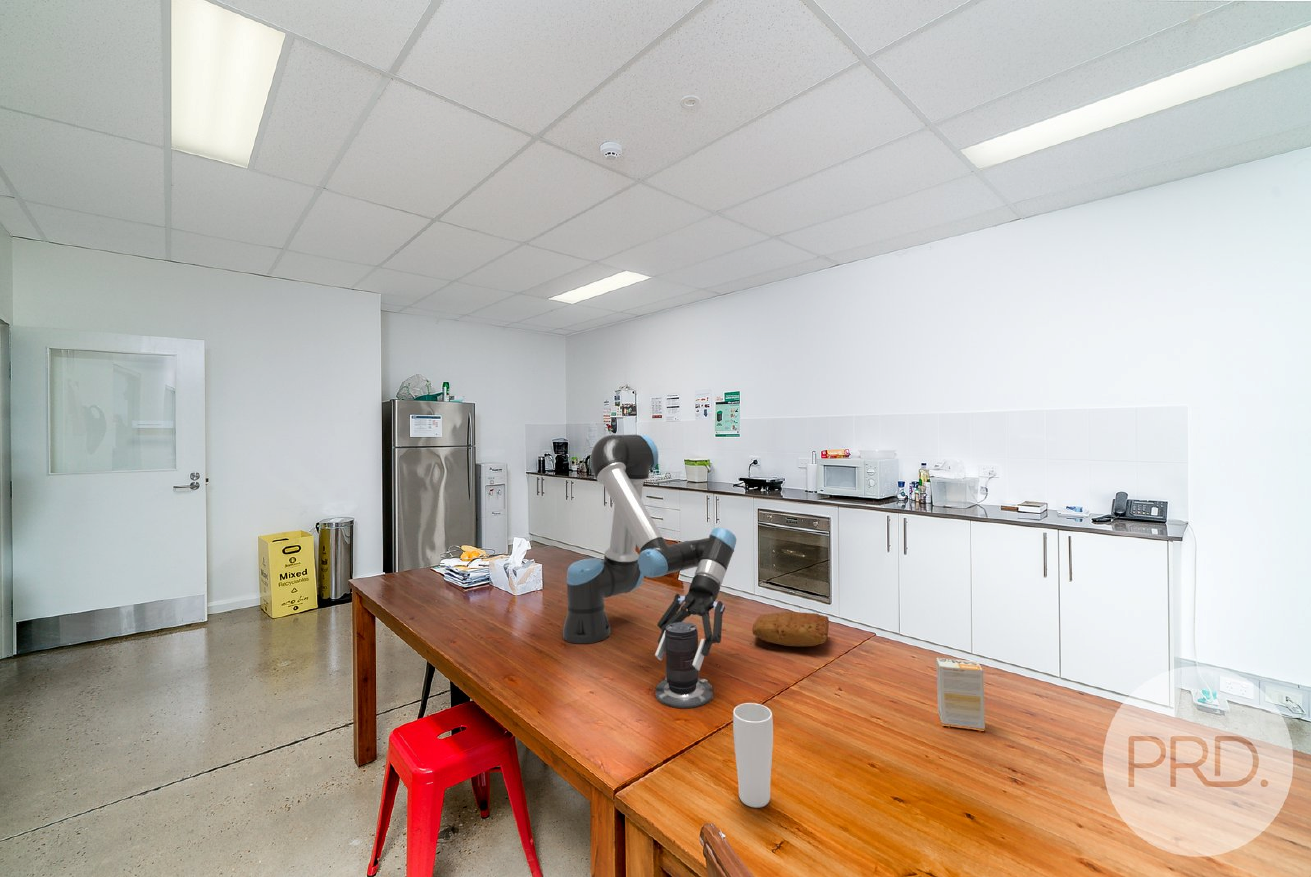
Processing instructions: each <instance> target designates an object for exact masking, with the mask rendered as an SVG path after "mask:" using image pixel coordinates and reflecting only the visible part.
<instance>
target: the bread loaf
mask: <svg viewBox="0 0 1311 877" xmlns="http://www.w3.org/2000/svg"><path fill="white" fill-rule="evenodd" d="M829 623H830V619H829V616H826V615H824V614H822V615H821V614H819V613H814V612H813V613H812V612H811V613H810V612H802V611H801V612H799V611H798V612H796V611H795V612H793V611H781V612H774V613H768V614H761V615H760V616H758V617H757V618H756V619H755V621H754V623H753V626H752V630H751V631H752V635H753V636H755V637H757V638H759V639H760V640H762V641H765V642H767V643H770V644H771V643H772V644H776V645H781V646H785V647H786V646H787V647H813V646H814V647H815V646H817V645H821V644H825V643H826V641H827V639H828V636H829V626H830V624H829Z"/></svg>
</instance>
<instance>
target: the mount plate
mask: <svg viewBox="0 0 1311 877" xmlns="http://www.w3.org/2000/svg"><path fill="white" fill-rule="evenodd" d="M654 691H655V698H656V700H657V699H658V700H657V701H658V702H659V701H660V702H659V703H661V704H663V705H664V704H665V705H664V706H666V707H670V708H674V707H675V708H676V709H695V708H699V707H701V706H705V705H707V704H708V703H709V702H710V701H712V699H713V696H714V689H713V686H712V684H710V682H708V679H705V678H700V677H698V682H697V684H696V689H695V691H694V692H692V693H689V694H676V693H673V692H672V691H670V690H669V684H668V683H667V677H665V678H664V680H661V681H660V682H659V683H657V685H656V687H655V690H654ZM704 704H705V705H704Z"/></svg>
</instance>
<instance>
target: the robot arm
mask: <svg viewBox="0 0 1311 877" xmlns="http://www.w3.org/2000/svg"><path fill="white" fill-rule="evenodd" d="M658 462H659V449H658V447H657V445H656V444H655V441H654V440H653V439H652V438H651V437H650V436H648V435H645V434H617V435H616V434H612V435H606V436H603V437H602V438H601V439H599V440H598V441H597V442H596V443H595V445H594V446H593V448H592V451H591V454H590V466H591V470H592V473H593V475H594V478H595V479H596V481H597V482H598V483H599V484H600V485H601V484H602V485H603V487H604V488H605V490H606V492H607V494H608V495H609V497H610V499H611V501H612V503H613V505H614V507H613V517H612V525H611V533H610V544H609V548H608V549H606V550H605V551H604V556H603V560H602V559H601V558H597V557H593V558H592V557H591V558H584V559H580V560H577V561H574V562H572V563H571V564H570V565H569V566H568V568H567V571H566V572H567V573H566V575H567V576H566V584H567V589H566V590H567V591H566V592H567V596H566V597H567V613H566V614H567V615H566V618H565V621H564V624H563V628H562V638H563V640H564V641H566V642H569V643H572V644H593V643H598V642H601V640H602V641H604V640H606V639H607V637H608V636H609V637H610V636H611V625H610V622H609V619H608V616H607V614H606V610H605V599H606V598H610V597H614V596H617V595H622V594H628V593H630V592H632V591H635V590H637V589H638V588H639V587H640V586H641V585H642V583H643V581H644V579H645V578H644V577H646V578H650V579H651V578H660V577H663V576H665V575H669V574H673V573H677V572H681V571H685V570H689V569H693V568H696V569H695V572H694V576H693V578H692V579H691V580H692V581H691V582H690V586H689V587H688V592H687V594H686V595H680V594H679V593H676V594H675V596H674V598H673V601H672V602H671V604H670V605H669V607H668V608H667V610H665V612H664V614H663V615H662V617H661V618H660V619H659V621H658V622H657V627H658V628H659V629H660V630H661V632H660V635H659V638H658V640H657V643H658V647H657V649H656V651H655V654H654V656H655V658H657V659H658V661H663V659H664V657H665V655H666V649H665V631H666V626H667V625H669V624H672V623H677V622H684V621H685V619H686V618H688V617H690V616H691V615H693V616H697V615H698V616H699V617H701V620H702V626H703V632H704V638H701V639H700V642H699V644H698V650H697V653H696V656H695V659H694V661H693V664H692V665H693V666H694V667H695V669H696V670H698V671H700V670H701V667H702V664H703V662H704V658H705V657H708V656H709V654H710V651H711V647H712V645H714V644H716V643H717V644H720V643H721V642H722V629H723V628H722V627H723V615H724V612H725V610H726V606H725V605H724V603H723V602H722V601H721V600H718V601H716V600H717V598H718V595H719V592H720V589H721V586H722V584H723V581H724V578H725V576H726V574H727V573H726V572H727V570H728V567H729V564H730V561H731V559H732V556H733V555H734V552H735V547H736V546H737V545H736V544H737V537H736V535H735V534H734V533H733V532H732V531H731V530H730V529H727V528H725V527H714V528H713V529H712V530H711V532H710V534H709V537H706V538H701V539H693V540H685V541H684V540H683V541H681V542H678V543H672V544H667V542H666V539H665V538H664V536H663V535H662V533H661V531H660V529H659V528H658V527H657V525H656V523H655V521H654V519H653V518H652V516H651V514H650V512H649V511H648V509H647V507H646V505H645V504H644V502H643V500H642V496H643V489H644V488H643V486H644V482H645V481H646V480H648V479H649V475H650V471H651V470H653V469H654V468H655V467H656V466H657V465H658ZM636 548H637V549H638V551H639V552H640V553H638V551H636ZM684 602H685V603H684ZM713 609H714V613H713V627H712V625H711V621H710V620H711V617H710V611H711V610H713ZM712 628H713V629H712ZM609 637H608V638H609Z"/></svg>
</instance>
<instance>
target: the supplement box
mask: <svg viewBox="0 0 1311 877" xmlns="http://www.w3.org/2000/svg"><path fill="white" fill-rule="evenodd" d="M935 661H936V662H935V664H936V687H937V690H936V691H937V714H939V716H938V718H939V717H940V719H939V721H940V720H941V721H940V723H941V722H942V724H944V725H950V726H951V725H953V726H962V727H970V728H976V729H980V730H985V731H986V713H985V711H986V710H985V685H984V680H985V679H984V670H983V668H982V667H981V665H980V663H979V662H978V661H975V660H974V661H973V660H965V659H954V658H945V657H936V660H935ZM942 724H941V725H942Z"/></svg>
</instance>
